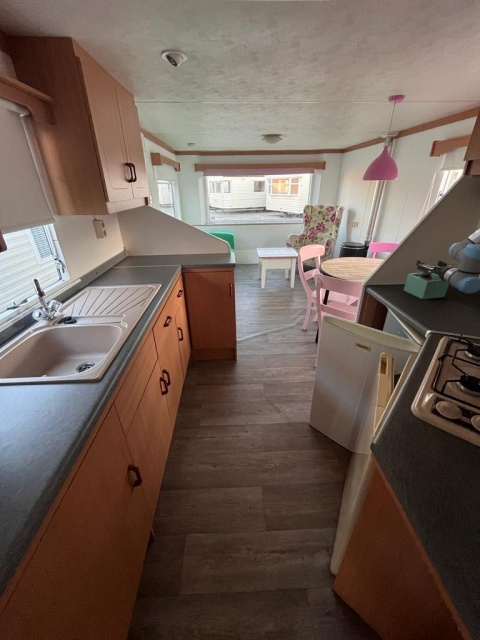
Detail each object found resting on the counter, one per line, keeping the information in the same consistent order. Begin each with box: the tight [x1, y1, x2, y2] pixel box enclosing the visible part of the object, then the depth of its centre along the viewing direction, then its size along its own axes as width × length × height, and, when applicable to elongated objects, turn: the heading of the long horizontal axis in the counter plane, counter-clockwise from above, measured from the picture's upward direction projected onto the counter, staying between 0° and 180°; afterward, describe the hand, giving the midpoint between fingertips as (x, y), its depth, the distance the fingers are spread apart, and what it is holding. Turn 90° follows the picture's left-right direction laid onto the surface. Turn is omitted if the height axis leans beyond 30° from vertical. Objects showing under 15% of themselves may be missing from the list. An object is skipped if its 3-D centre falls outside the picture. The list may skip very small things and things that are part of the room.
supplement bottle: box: [419, 271, 432, 281], centre depth 142 cm, size 6×6×11 cm
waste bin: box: [403, 272, 450, 300], centre depth 144 cm, size 14×14×10 cm
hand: (428, 262), depth 143 cm, fingers open, 10 cm apart
